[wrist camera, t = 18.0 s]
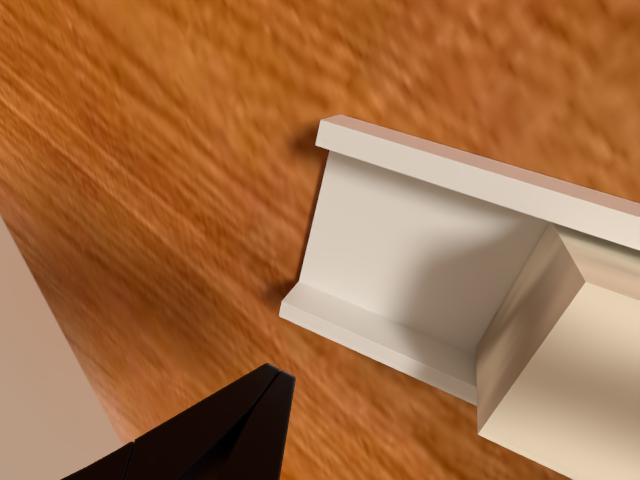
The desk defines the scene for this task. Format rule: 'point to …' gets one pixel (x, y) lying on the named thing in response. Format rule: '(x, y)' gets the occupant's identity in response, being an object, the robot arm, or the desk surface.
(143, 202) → the desk surface
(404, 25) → the desk surface
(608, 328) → the pale wooden block
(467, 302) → the bay
